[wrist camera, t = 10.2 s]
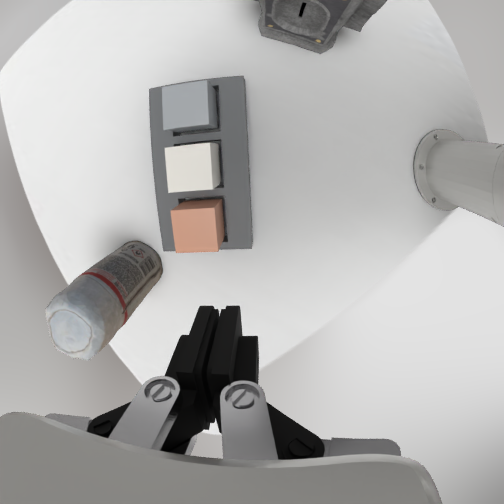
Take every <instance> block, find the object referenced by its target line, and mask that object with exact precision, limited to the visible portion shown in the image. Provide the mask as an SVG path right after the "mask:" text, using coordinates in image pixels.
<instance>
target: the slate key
mask: <svg viewBox="0 0 504 504" xmlns="http://www.w3.org/2000/svg"><path fill="white" fill-rule="evenodd" d="M162 107H163V130H166V131H173V132H178V133H181V132H189V131H197V130H207V129H218V116H217V94H216V90H215V89H214V88H213V87H212V85H211V84H210V83H209V82H208V81H207V80H204V81H197V82H190V83H183V84H177V85H172V86H166V87H162Z"/></svg>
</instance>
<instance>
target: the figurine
mask: <svg viewBox="0 0 504 504" xmlns="http://www.w3.org/2000/svg"><path fill="white" fill-rule="evenodd" d="M255 1H260V6H261V10H262V14H261V16H260V19H259V29H260V32H261V35H262V36H264V37H268V38H272V39H276V40H280V41H282V42H286V43H290V44H294V45H297V46H299V47H302V48H305V49H308V50H311V51H314V52H317V53H320V54H321V53H323V52H325V51H327V50H328V49H330V48H332V47H333V45H334V43H335V40H336V36H337V31H338V30H339V29H341V28H342V27H343V26H345V27H347V28H350V29H353V30H356V31H359V32H360V31H361V29H362V27H363V26H364V24H365V23H366V22H367V21H368V20H369V18H370V17H371V16H372V15H373V14H375V13H376V12H377V11H378V10H379V9H380V8H381V7H382V6H383V5H384V4H385V2H386V1H387V0H255ZM300 10H301V11H304V12H303V15H302V17H300V16H299V13H300Z"/></svg>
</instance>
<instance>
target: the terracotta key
mask: <svg viewBox="0 0 504 504" xmlns="http://www.w3.org/2000/svg"><path fill="white" fill-rule="evenodd" d="M171 220H172V228H173V235H174V242H175V249H176V253H189V252H218V251H219V249H220V246H221V244H222V242H223V239H224V237H225V227H224V214H223V200H222V198H216V199H200V200H186V201H183V202H182V203H181V204H179V205H178V206H176V207H175V208H173V209H172V210H171Z"/></svg>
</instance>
